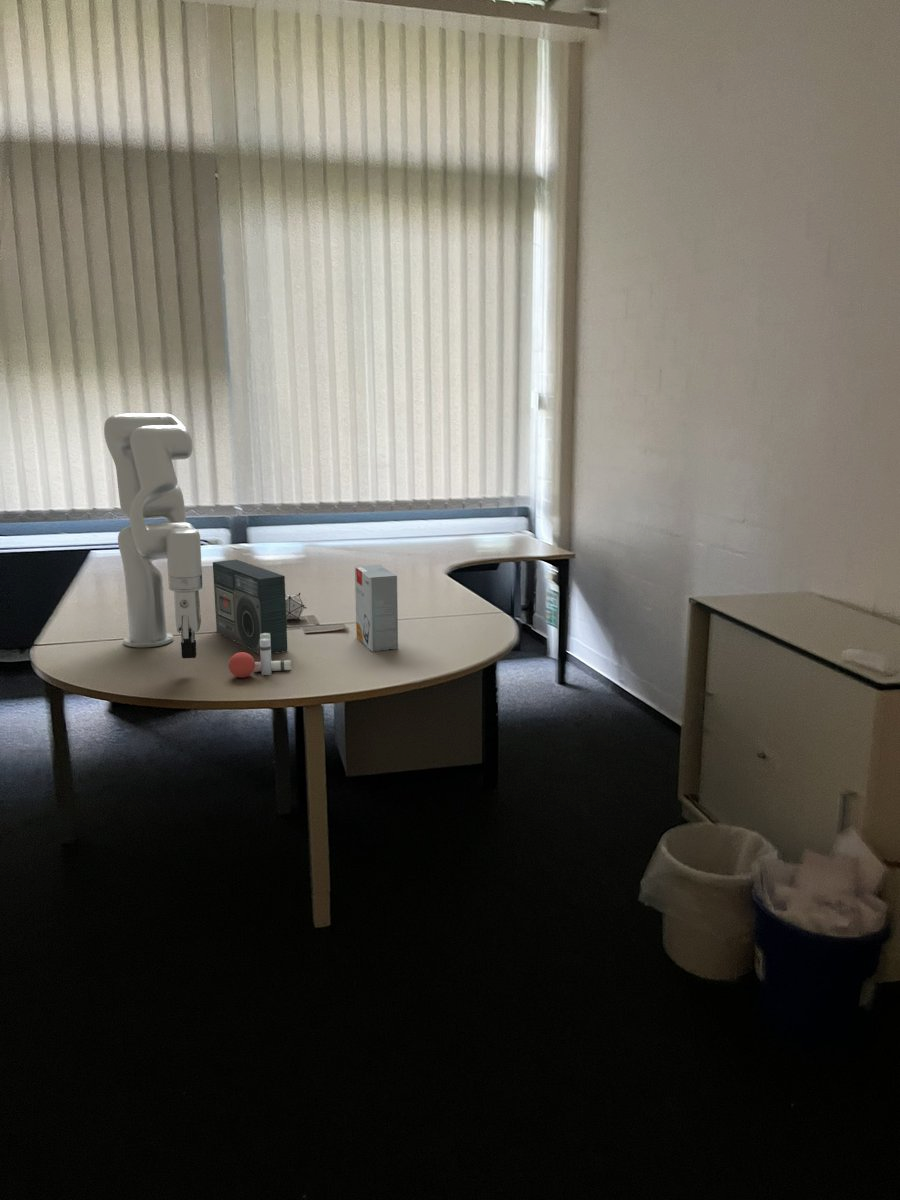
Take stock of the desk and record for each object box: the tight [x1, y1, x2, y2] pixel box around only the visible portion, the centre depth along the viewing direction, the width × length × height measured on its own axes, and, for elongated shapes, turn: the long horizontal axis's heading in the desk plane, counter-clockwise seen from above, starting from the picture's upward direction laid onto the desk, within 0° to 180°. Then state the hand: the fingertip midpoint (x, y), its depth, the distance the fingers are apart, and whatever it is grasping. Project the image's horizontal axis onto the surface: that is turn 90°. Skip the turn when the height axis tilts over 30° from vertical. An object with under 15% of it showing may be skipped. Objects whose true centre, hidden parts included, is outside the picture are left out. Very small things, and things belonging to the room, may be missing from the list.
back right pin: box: [259, 638, 273, 676], centre depth 211 cm, size 2×2×8 cm
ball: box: [228, 651, 256, 679], centre depth 209 cm, size 6×6×6 cm
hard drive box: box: [354, 564, 399, 652], centre depth 236 cm, size 16×8×20 cm, turn 21°
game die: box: [285, 592, 307, 622], centre depth 262 cm, size 9×8×10 cm
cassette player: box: [212, 559, 289, 655], centre depth 238 cm, size 29×7×20 cm, turn 37°
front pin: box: [254, 659, 292, 673], centre depth 214 cm, size 2×2×8 cm
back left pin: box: [260, 633, 271, 645], centre depth 215 cm, size 2×2×8 cm
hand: (189, 657), depth 211 cm, fingers closed
